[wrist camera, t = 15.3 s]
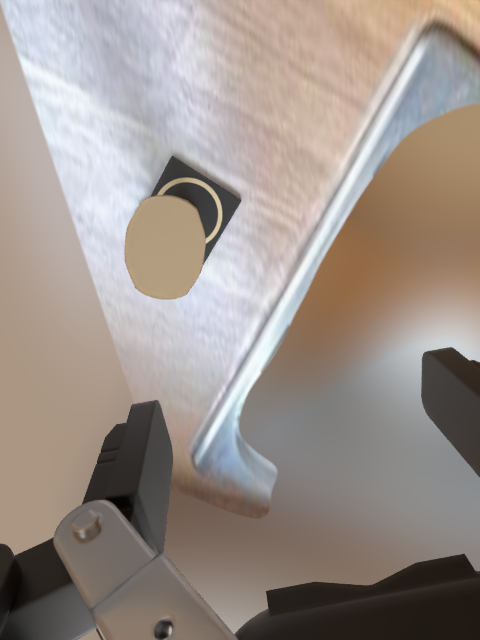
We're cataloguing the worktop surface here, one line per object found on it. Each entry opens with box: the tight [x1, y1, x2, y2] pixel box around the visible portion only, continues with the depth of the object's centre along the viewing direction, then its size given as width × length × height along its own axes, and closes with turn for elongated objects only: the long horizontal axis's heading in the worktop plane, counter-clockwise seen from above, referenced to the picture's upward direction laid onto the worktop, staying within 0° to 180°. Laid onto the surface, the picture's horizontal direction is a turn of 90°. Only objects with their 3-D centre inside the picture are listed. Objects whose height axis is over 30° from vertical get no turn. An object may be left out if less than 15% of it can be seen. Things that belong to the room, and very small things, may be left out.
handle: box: [125, 195, 206, 300], centre depth 32 cm, size 5×6×15 cm
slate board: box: [151, 156, 241, 264], centre depth 39 cm, size 8×8×1 cm
